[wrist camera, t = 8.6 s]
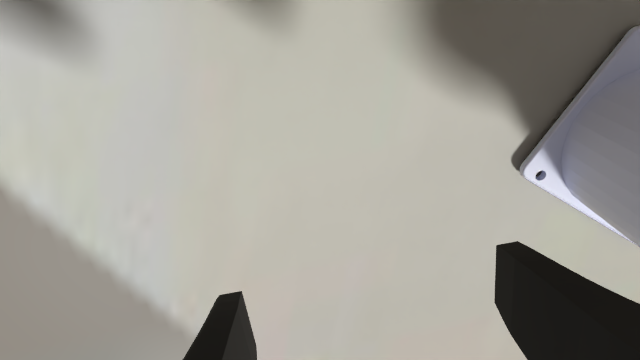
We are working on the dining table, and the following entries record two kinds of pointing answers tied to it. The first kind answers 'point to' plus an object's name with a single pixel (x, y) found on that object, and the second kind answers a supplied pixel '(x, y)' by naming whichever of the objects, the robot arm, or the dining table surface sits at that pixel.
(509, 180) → the dining table surface
